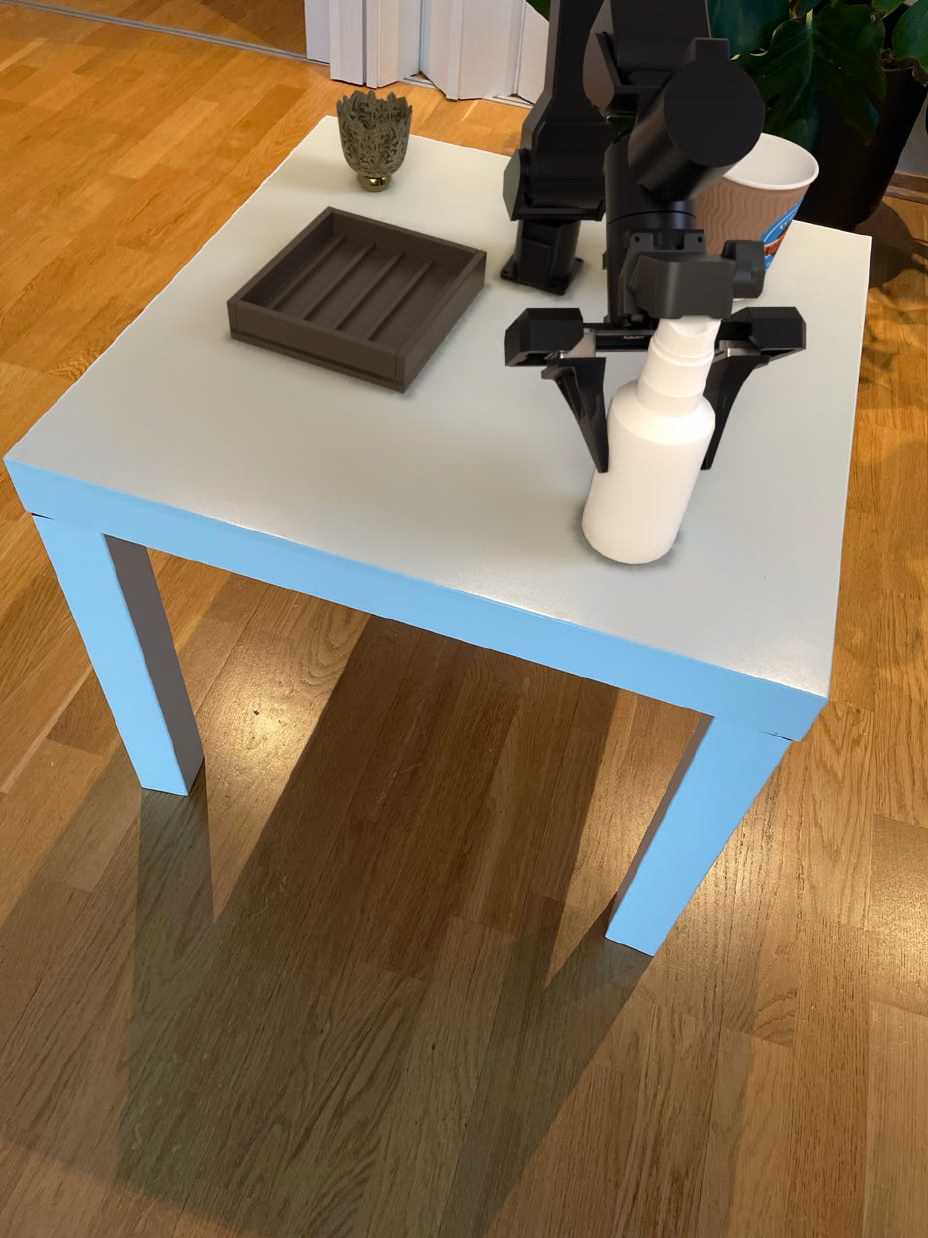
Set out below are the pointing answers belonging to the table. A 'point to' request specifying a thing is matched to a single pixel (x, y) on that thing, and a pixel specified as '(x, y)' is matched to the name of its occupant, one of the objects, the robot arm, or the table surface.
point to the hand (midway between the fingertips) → (654, 471)
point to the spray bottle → (654, 445)
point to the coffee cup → (757, 196)
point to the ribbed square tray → (359, 297)
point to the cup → (374, 136)
